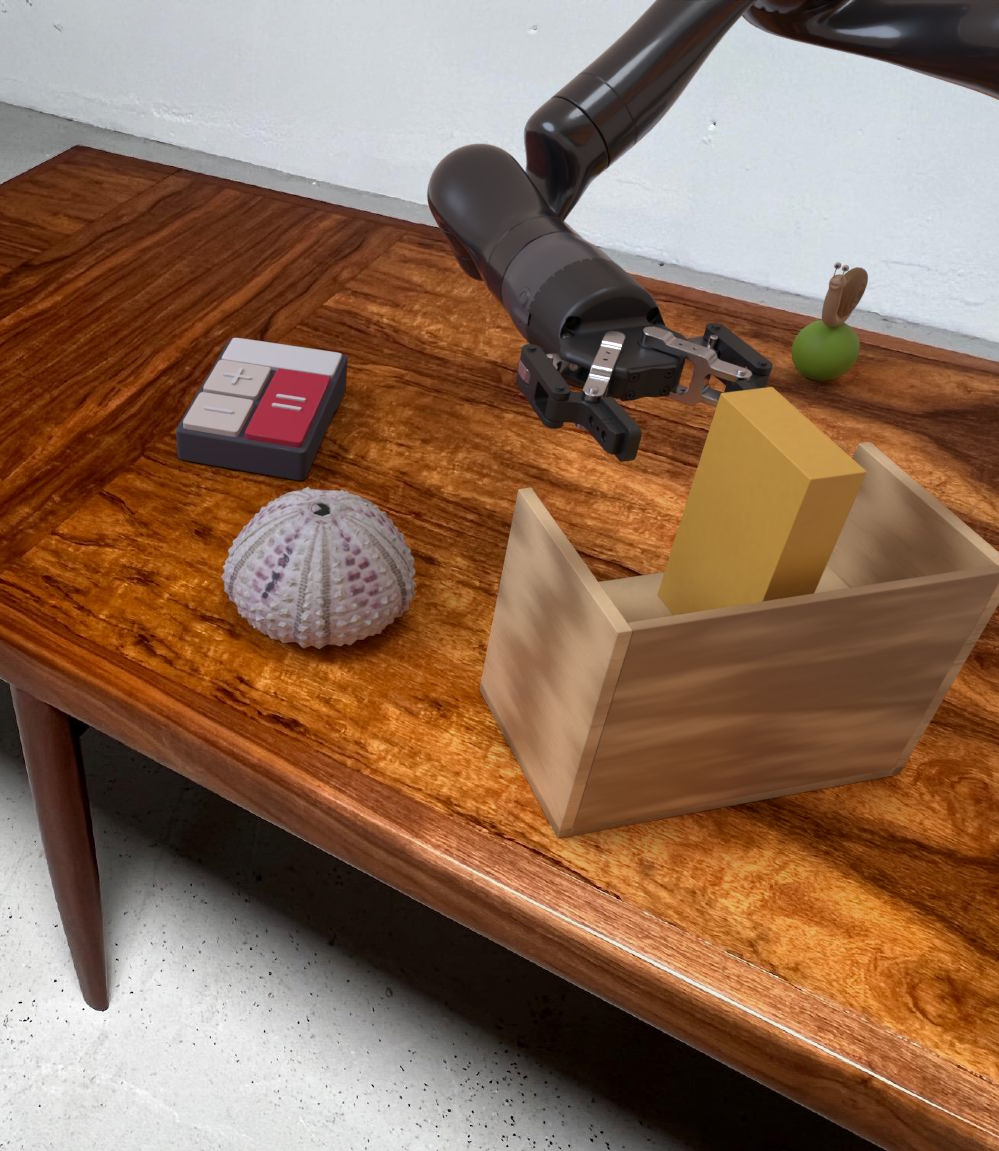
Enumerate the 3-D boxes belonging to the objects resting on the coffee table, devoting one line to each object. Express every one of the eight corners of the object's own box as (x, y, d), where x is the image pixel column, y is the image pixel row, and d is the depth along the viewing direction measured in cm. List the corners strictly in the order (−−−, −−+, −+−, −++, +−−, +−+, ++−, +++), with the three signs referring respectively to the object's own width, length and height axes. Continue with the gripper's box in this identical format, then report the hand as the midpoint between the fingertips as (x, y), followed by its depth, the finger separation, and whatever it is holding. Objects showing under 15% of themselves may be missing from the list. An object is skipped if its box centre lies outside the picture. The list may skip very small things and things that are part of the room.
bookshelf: (478, 689, 73) (517, 488, 63) (785, 639, 76) (870, 441, 66) (557, 838, 64) (617, 632, 54) (900, 774, 67) (1019, 569, 57)
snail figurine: (766, 379, 103) (809, 254, 95) (801, 355, 106) (845, 233, 98) (824, 402, 99) (873, 275, 92) (858, 377, 103) (908, 252, 95)
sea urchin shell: (435, 654, 75) (449, 561, 70) (236, 675, 74) (235, 582, 69) (386, 533, 86) (396, 444, 80) (210, 550, 84) (208, 460, 79)
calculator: (173, 423, 91) (229, 329, 101) (176, 465, 94) (230, 370, 104) (305, 445, 88) (349, 346, 99) (304, 488, 91) (347, 388, 101)
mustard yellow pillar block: (727, 688, 62) (810, 479, 53) (655, 592, 68) (718, 390, 59) (777, 679, 62) (868, 471, 53) (700, 585, 68) (770, 384, 59)
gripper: (660, 347, 79) (794, 477, 67) (469, 369, 77) (572, 508, 65) (687, 246, 74) (837, 366, 62) (484, 266, 72) (598, 396, 60)
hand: (702, 439), depth 64 cm, fingers open, 8 cm apart
